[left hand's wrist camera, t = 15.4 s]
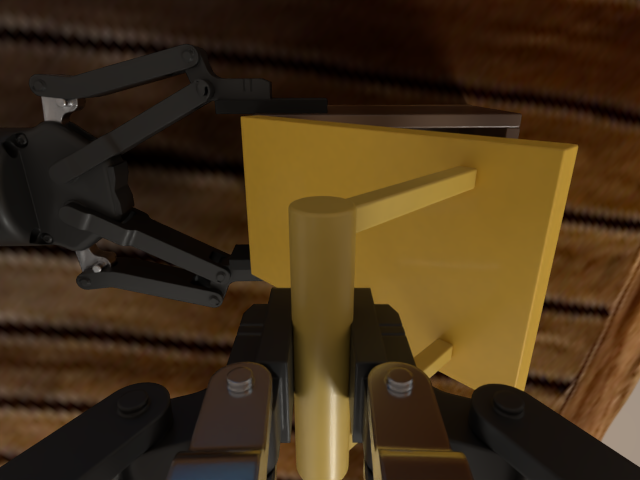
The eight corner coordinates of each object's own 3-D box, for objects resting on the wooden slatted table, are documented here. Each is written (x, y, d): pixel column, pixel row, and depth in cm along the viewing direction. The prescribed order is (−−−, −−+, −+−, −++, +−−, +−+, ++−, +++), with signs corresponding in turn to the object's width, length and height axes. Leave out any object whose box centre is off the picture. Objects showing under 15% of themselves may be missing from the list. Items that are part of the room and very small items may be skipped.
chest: (467, 104, 32) (522, 113, 23) (453, 220, 35) (497, 263, 27) (266, 105, 31) (251, 114, 23) (272, 222, 35) (260, 266, 27)
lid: (579, 144, 12) (414, 204, 7) (524, 391, 16) (383, 578, 10) (259, 114, 23) (84, 127, 17) (267, 268, 26) (123, 322, 20)
